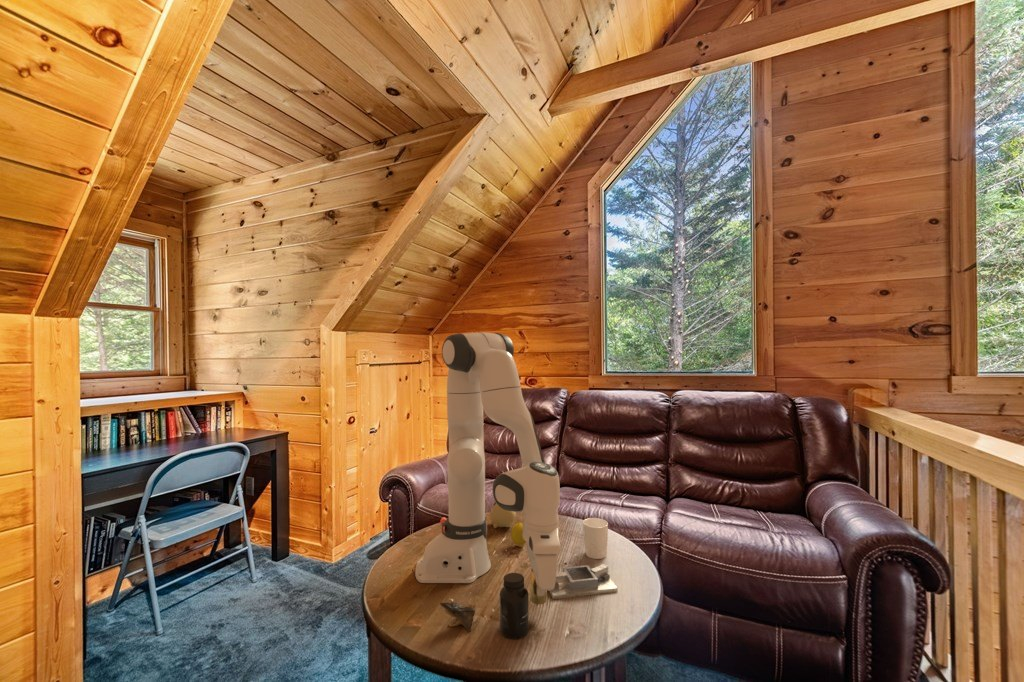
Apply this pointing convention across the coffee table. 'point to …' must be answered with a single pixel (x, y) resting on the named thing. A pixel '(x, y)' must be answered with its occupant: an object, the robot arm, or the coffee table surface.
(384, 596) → the coffee table surface
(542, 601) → the cylinder
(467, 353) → the robot arm
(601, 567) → the shaft rig
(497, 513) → the pale yellow wedge piece
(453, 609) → the shark head
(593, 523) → the white cup
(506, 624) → the supplement bottle
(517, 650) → the coffee table surface
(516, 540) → the lemon
